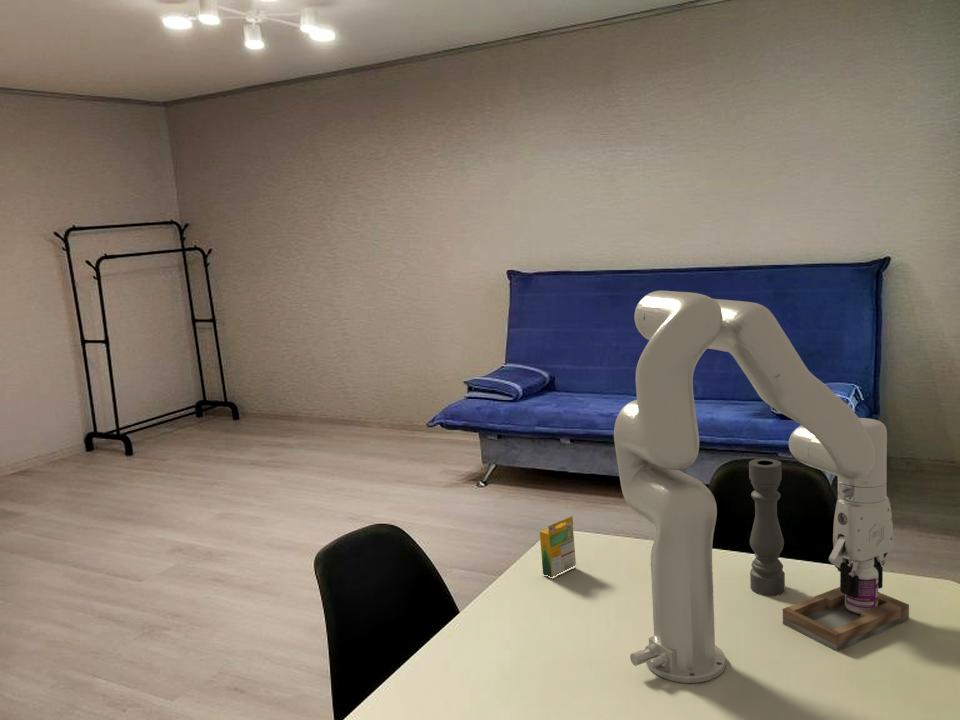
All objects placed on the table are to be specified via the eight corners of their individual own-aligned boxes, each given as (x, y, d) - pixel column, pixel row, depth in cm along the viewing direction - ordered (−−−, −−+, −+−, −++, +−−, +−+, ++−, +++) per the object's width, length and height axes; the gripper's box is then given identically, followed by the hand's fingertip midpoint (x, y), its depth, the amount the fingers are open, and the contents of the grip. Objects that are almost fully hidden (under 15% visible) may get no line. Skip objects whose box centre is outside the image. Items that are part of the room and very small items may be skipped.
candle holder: (779, 598, 147) (776, 469, 143) (746, 591, 150) (742, 465, 146) (789, 585, 151) (787, 460, 147) (756, 579, 155) (753, 456, 151)
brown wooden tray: (836, 651, 128) (836, 635, 127) (782, 623, 138) (782, 608, 137) (908, 619, 136) (909, 604, 135) (853, 595, 145) (853, 581, 145)
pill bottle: (884, 614, 135) (884, 561, 134) (852, 616, 136) (853, 563, 134) (869, 600, 141) (869, 549, 139) (839, 601, 141) (839, 550, 139)
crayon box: (566, 564, 169) (563, 512, 167) (576, 568, 166) (573, 516, 164) (542, 575, 164) (538, 522, 162) (552, 579, 162) (548, 526, 160)
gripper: (846, 507, 128) (846, 612, 131) (914, 486, 135) (913, 585, 138) (808, 495, 134) (809, 595, 137) (875, 475, 142) (875, 570, 145)
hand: (861, 589), depth 138 cm, fingers closed on pill bottle, 5 cm apart
